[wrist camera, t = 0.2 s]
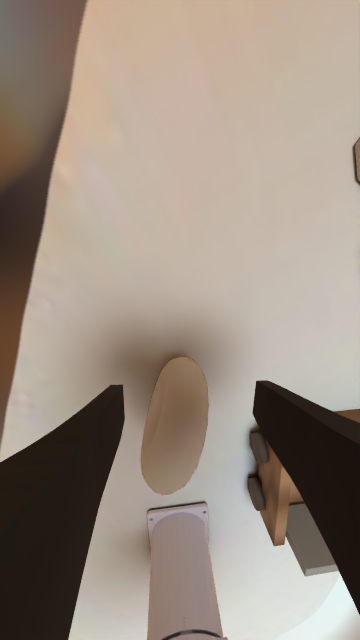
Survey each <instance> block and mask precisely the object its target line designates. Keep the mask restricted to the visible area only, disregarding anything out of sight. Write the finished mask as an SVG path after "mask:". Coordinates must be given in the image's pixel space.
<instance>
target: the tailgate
mask: <svg viewBox="0 0 360 640" xmlns="http://www.w3.org/2000/svg"><path fill="white" fill-rule="evenodd" d="M285 536H286V538H287V540H288V542H289V544H290V546H291V548H292V550H293V552H294V554H295V557H296V559H297V561H298V563H299V565H300V567H301V569H302V571H303V573H304V575H305V576H311V575H316V574H322V573H328V572H334V571H339V570H338V568H337V566H336V564H335V561H334V559H333V557H332V555H331V553H330V551H329V549H328V547H327V545H326V543H325V541H324V539H323V537H322V535H321V533H320V531H319V529H318V527H317V526H316V524H315V522H314V520H313V518H312V516H311V514H310V512H309V510H308V508H307V506H306V505H305V504H298V505H291V506H289V508H288V517H287V525H286V534H285Z"/></svg>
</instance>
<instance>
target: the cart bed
mask: <svg viewBox="0 0 360 640" xmlns="http://www.w3.org/2000/svg"><path fill="white" fill-rule="evenodd" d="M335 413H337V414H339V415H342V416H344V417H346V418H349V419H351V420H354V421H357V422H359V423H360V409H357V410H347V411H337V412H335ZM250 445H251V449H252V452H253V455H254V457H255V459H256V461H257V462H258V463H259V468H258V478H257V477H254V478H248V489H249V493H250V497H251V500H252V503H253V505H254V507H255V509H256V510H257V511H260V514H261V516H262V518H263V521H264V523H265V526H266V528H267V531H268V533H269V535H270V538H271V540H272V543H273V545H274V546H279V545H284V543H285V534H286V525H287V517H288V508H289V506H291V505H298V504H305V503H304V501H303V499H302V497H301V495H300V493H299V491H298V490H297V488H296V486H295V485H294V483H293V481H292V480H291V478H290V476H289V475H288V473H287V472H286V470H285V469H284V467H283V465H282V464H281V462H280V461H279V459H278V458H277V456H276V454H275V453H274V451H273V450H272V448H271V447H270V445H269V443H268V442H267V440H266V439H265V437H264V435H263V434H262V432H257V433H251V434H250Z"/></svg>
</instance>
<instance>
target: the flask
mask: <svg viewBox="0 0 360 640" xmlns="http://www.w3.org/2000/svg"><path fill="white" fill-rule="evenodd" d="M355 151H356V164H357V177H358V180H359V181H360V139H359V140H358V142H357V143H356V144H355Z"/></svg>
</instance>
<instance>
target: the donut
mask: <svg viewBox="0 0 360 640" xmlns="http://www.w3.org/2000/svg"><path fill="white" fill-rule="evenodd" d="M208 408H209V403H208V389H207V383H206V379H205V376H204V373H203V371H202V369H201V368H200V367H199V365H198V364H197V363H196V362H195V361H194V360H192V359H190V358H188V357H178V358H174V359H172V360H170V361H169V362H168V363H167V364H166V365H165V367H164V368H163V369H162V371H161V373H160V375H159V378H158V380H157V383H156V386H155V389H154V392H153V395H152V398H151V402H150V406H149V410H148V414H147V418H146V423H145V428H144V434H143V441H142V448H141V468H142V475H143V477H144V479H145V481H146V483H147V484H148V486H149V487H150V488H151V489H152V490H153V491H154V492H156V493H158V494H161V495H169V494H171V493H173V492H175V491H177V490H179V489H181V488H182V487H184V486H185V485H186V484H187V482H188V481H189V480H190V478H191V476H192V474H193V473H194V471H195V469H196V468H197V464H198V461H199V458H200V455H201V452H202V449H203V446H204V441H205V436H206V430H207V424H208Z"/></svg>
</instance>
